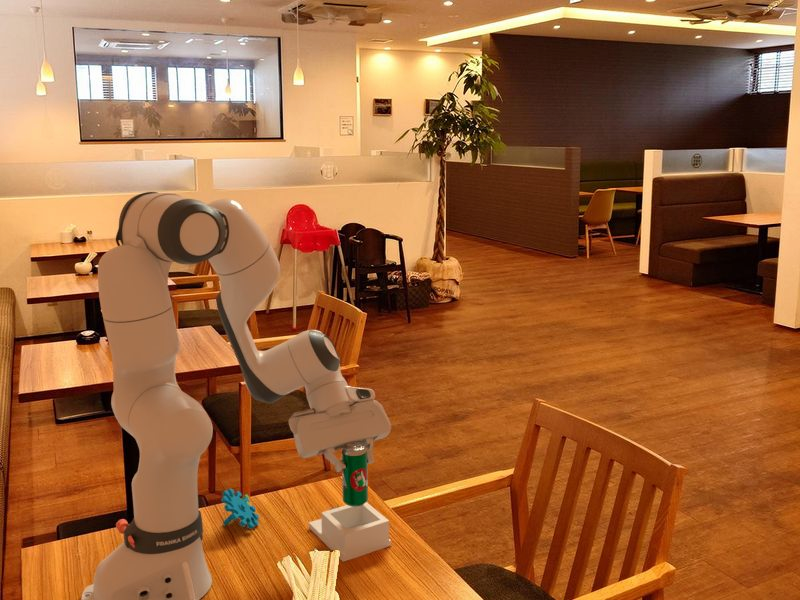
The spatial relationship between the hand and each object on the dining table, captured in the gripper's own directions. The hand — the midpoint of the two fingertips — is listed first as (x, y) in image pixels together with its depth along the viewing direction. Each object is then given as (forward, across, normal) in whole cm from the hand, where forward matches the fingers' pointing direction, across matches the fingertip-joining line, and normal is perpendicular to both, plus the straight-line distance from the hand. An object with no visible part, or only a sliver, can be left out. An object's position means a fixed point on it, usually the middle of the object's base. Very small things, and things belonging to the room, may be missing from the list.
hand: (356, 466), depth 152 cm
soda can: (+5, 0, +6) cm, 8 cm away
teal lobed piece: (-2, -17, +26) cm, 31 cm away
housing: (+10, 0, +14) cm, 17 cm away
